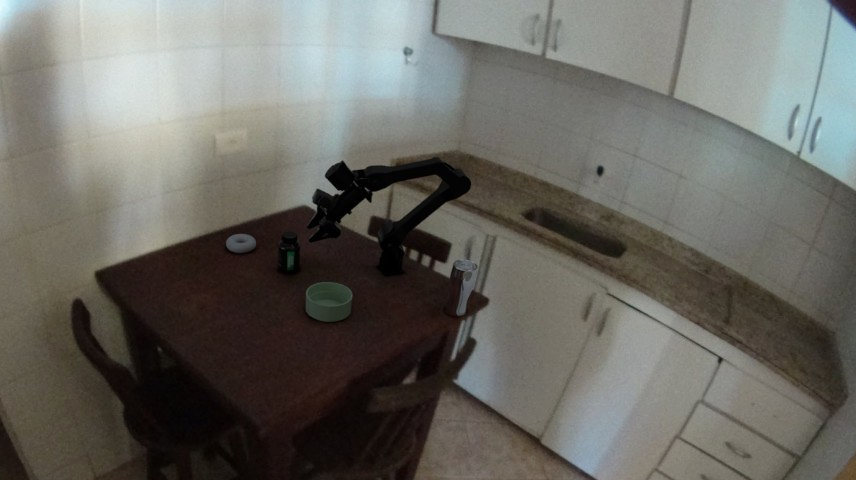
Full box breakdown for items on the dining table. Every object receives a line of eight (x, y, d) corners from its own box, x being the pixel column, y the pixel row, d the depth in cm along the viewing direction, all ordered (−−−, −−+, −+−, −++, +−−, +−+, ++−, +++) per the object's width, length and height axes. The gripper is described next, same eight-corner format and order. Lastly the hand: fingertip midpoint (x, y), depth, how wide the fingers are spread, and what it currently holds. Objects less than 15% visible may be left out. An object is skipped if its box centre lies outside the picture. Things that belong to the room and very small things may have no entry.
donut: (224, 254, 199) (255, 255, 199) (223, 245, 197) (254, 245, 197) (228, 241, 207) (257, 241, 207) (227, 231, 205) (257, 232, 205)
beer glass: (463, 320, 172) (473, 273, 163) (439, 312, 175) (448, 266, 166) (471, 309, 177) (482, 263, 168) (448, 302, 180) (457, 256, 171)
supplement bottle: (294, 276, 189) (295, 241, 182) (274, 271, 191) (274, 236, 184) (302, 266, 194) (304, 232, 187) (283, 262, 196) (283, 227, 189)
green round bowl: (338, 294, 181) (339, 278, 178) (359, 317, 172) (360, 300, 168) (298, 303, 177) (298, 287, 173) (317, 327, 167) (318, 310, 164)
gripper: (326, 170, 184) (289, 204, 190) (332, 194, 169) (291, 230, 175) (350, 195, 189) (313, 228, 195) (357, 221, 174) (317, 255, 180)
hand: (308, 234), depth 186 cm, fingers open, 9 cm apart
